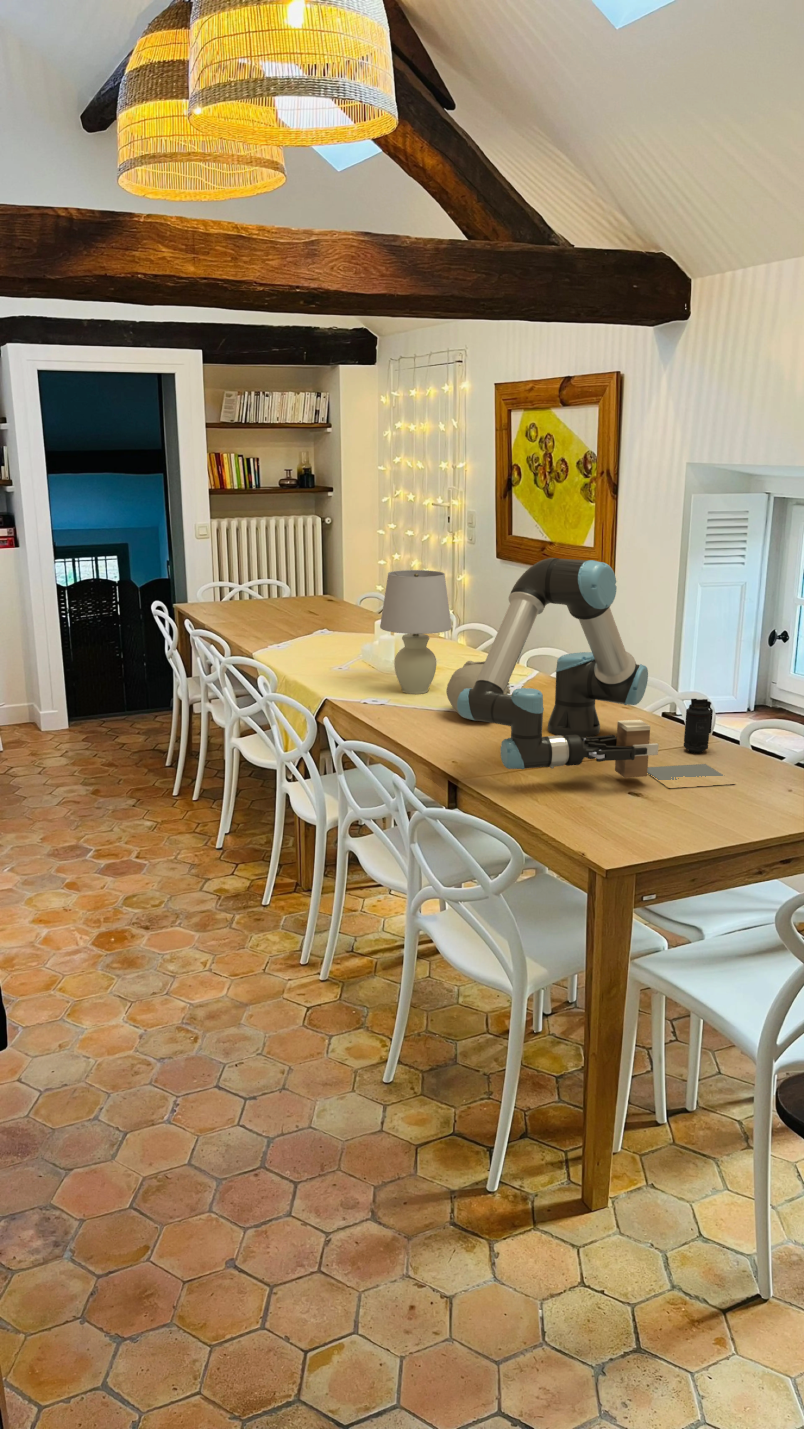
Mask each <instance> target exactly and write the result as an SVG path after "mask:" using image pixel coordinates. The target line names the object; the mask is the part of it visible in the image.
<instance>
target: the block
mask: <svg viewBox="0 0 804 1429" xmlns="http://www.w3.org/2000/svg"><path fill="white" fill-rule="evenodd" d="M616 723H617V726H616V737H617V742H616V746H633V745H640V744H650V738H651V737H650V736H651V725H649V724H648V723H646V722H645V721H643V720H642V719H627V720H626V719H625V720H617V722H616ZM614 762H615V764H614V771H615V772H616V773H617V774H618V775H620V776H621V777H622V778H624V779H627V778H628V779H629V778H642V777H643V778H644V777H645V778H646V777H648V774H647V770H648V767H649V755H647V756H635V759H634V760H614Z"/></svg>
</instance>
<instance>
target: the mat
mask: <svg viewBox="0 0 804 1429" xmlns="http://www.w3.org/2000/svg"><path fill="white" fill-rule="evenodd" d="M647 773H648V774H650V775H652V776H654V777H655V778H657V779H658V780H671V779H672V780H674V777H675V780H677V779H676V777H683V776H685V777H696V776H697V777H699V776H701V777H702V776H705V777H706V776H723V775H724V774H723V773H721V772H719V771H718V770H716V769H715V768H712V767H711V766H710V765H708V764H706V763H701V764H699V763H698V764H695V763H694V764H683V765H681V764H680V765H665V766H663V765H662V766H648V770H647ZM648 774H647V775H648ZM671 777H672V778H671ZM678 779H679V778H678Z"/></svg>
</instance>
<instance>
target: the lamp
mask: <svg viewBox="0 0 804 1429" xmlns="http://www.w3.org/2000/svg"><path fill="white" fill-rule="evenodd" d="M449 605H450V604H449V598H448V589H447V583H446V573H445V572H441V571H437V570H427V569H426V570H425V569H405V570H404V569H403V570H401V569H400V570H393V571H390V572H388V573H387V579H386V587H385V592H384V598H383V605H382V613H381V619H380V625H379V627H380V630H382V631H386V632H390V633H396V634H403V635H402V637H401V639H402V642H403V644H404V647H402V648H401V649H400V650H399V651H397V653H396V654H395V657H394V662H393V664H394V670H395V675H396V678H397V682H398V683H399V686H400V687H401V691H402V693H405V694H409V695H421V694H422V695H423V694H426V693H427V692H429V688H430V686H431V685H432V682H433V681H434V680H433V679H434V677H435V675H436V670H437V658H436V655H435V653H434V652H433V651H432V650H431V649H430V648H429V647H428V642H429V640H430V636H429V635H430V634H439V633H445V632H448V631H450V630H452V628H453V627H452V621H451V614H450V606H449ZM428 634H429V635H428Z"/></svg>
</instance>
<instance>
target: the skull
mask: <svg viewBox="0 0 804 1429" xmlns="http://www.w3.org/2000/svg"><path fill="white" fill-rule="evenodd" d="M484 663H485V661H472V660H468V661H466V662H465V663H464V664H463V666H462V667H459V668H457V669H456V670H455V671H454V672H453V674H452V675H451V677H450V679H449V681H448V683H447V686H446V696H447V699H448V701H449V704H450V706H451V707H452V709H453V710H454V711H455V712H456V713H457V714H458V715H459V716H460V717H462V716H461V715H460V714H459V712H458V709H457V700H458V696H459V694H460V693H461V692H462V691H463V690H464V689H466V688H468V689H469V688H472V689H473V688H474V685H475V683H476V681H477V679H478V677H479V674H480V672H481V670H482V667H483V665H484ZM510 688H511V687H510V683H509V682H508V684H507V686H506V689H505V691H504V693H503V694H507V695H511V690H510ZM465 719H467V720H470V721H471V719H468V718H465Z"/></svg>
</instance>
